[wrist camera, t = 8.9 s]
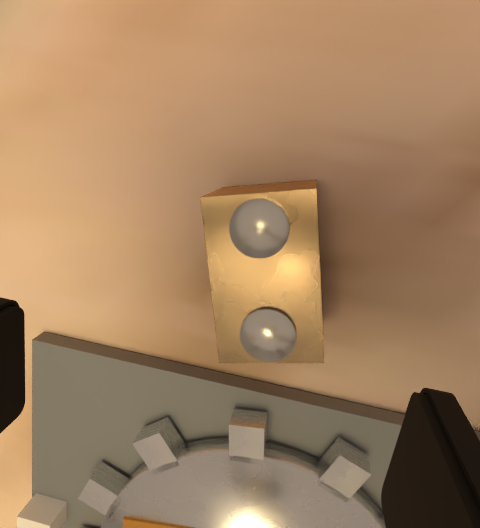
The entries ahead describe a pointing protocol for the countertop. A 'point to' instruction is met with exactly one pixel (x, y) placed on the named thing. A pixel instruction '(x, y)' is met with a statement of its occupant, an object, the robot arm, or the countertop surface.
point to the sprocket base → (162, 406)
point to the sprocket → (233, 483)
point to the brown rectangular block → (265, 272)
